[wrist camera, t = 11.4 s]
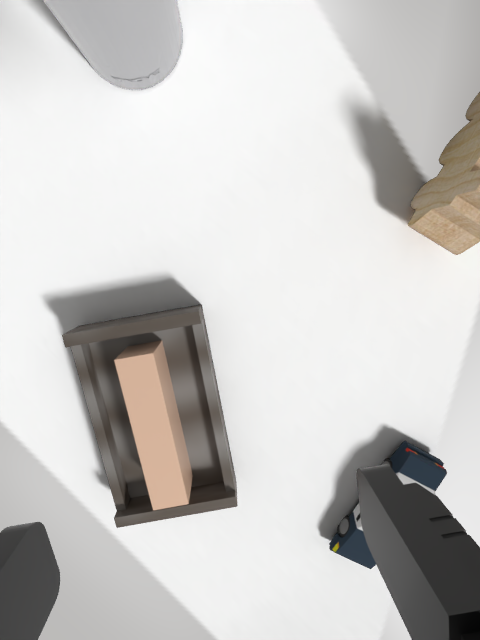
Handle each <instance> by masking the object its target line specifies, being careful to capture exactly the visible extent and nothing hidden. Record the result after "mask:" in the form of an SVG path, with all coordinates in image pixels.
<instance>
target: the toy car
mask: <svg viewBox="0 0 480 640" xmlns="http://www.w3.org/2000/svg"><path fill="white" fill-rule="evenodd" d="M384 464H387V465H389V466H390V467H391V468H392V469H393V471H394V472H395V474H396V475H397V476H398V478H399V479H400V480H401V482H402V483H403V484H410V483H417V484H419V485H420V486H422V487H424V488H425V489H427V490H428V491H430V492H431V493H433V494H434V495H435V491H436V489H437V488H438V486H439V485H440V483H441V482H442V480H443V479H444V477H445V476H446V474H447V472H446V469H444V467H443V462H442V461H441V460H440V459H438V458H436V457H434V456H432V455H431V454H429V453H427V452H425V451H423V450H421V449H419V448H418V447H416V446H414V445H412V444H410V443H408V442H406V441H404V442H403V443H402V444H401V445H400V446H399V448H398V449H397V450H396V451H395V452H394V454H393V455H392V456H391V458H390V460H389V459H385V460H384V462H383V463H382V464H381V465H384ZM338 533H339V534H338ZM338 533H336V535H335V536H334V538H333V539H332V541H331V542H330V544H329V545H330V550H331V551H333V552H335V553H337V554H339V555H341V556H344V557H346V558H348V559H350V560H352V561H354V562H356V563H359V564H361V565H363V566H365V567H367V568H369V569H371V568H372V567H374V566H375V565H376V562H375V560H374V558H373V556H372V554H371V552H370V550H369V547H368V545H367V542H366V539H365V536H364V533H363V529H362V524H361V517H360V506H359V503H358V505H357V506H356V508H355V509H354V510H353V512H352V513H351V515H350V516H349V517H347V516H345V517H344V518H343V520H342V521H341V523H340V524H339V526H338Z"/></svg>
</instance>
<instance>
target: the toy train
mask: <svg viewBox="0 0 480 640" xmlns="http://www.w3.org/2000/svg"><path fill="white" fill-rule="evenodd" d="M466 118H467V120H469V121H470V122H469V123H468V124H467V125H466V126H465V127H463V128H462V129H461V130H460V131H459V132H458V133H457V134H456V135H455V136H454V137H453V138H452V139H451V140H450V142H449V143H448V144H447V146H446V147H445V149H444V150H443V152H442V154H441V156H440V158H439V162H440V164H441V165H443V168H442V169H441V171H440V172H439V174H438V176H437V177H435V178H433V179H431V180H430V181H428V182H427V183H426V184H425V185H423V186H422V187H421V189H420V190H419V191H418V192H417V194H416V195H415V196H414V198H413V200H412V202H411V207H412V208H413V209H415V210H416V211H415V213H414V214H413V216H412V218H411V219H410V221H409V223H408V226H409V227H411V228H413V229H414V230H416V231H417V232H419V233H421V234H422V235H424V236H426V237H427V238H429V239H430V240H432V241H434V242H435V243H437V244H438V245H440V246H442V247H443V248H445V249H447V250H448V251H450V252H451V253H453V254H455V255H458V254H461V253H463V252H464V251H466V250H467V249H469V248H470V247H472V246H474V245H475V244H477V243H478V242H480V92H479V93H478V95H477V96H476V97H475V99H474V100H473V101H472V103H471V105H470V107H469V108H468V110H467V113H466Z"/></svg>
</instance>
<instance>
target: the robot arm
mask: <svg viewBox="0 0 480 640" xmlns="http://www.w3.org/2000/svg"><path fill="white" fill-rule="evenodd" d="M43 1H44V2H45V4H46V5H47V6H48V8H49V9H50V10H51V12H52V13H53V15H54V16H55V17H56V19H57V20H58V21H59V23H60V24H61V25H62V27H63V28H64V29H65V31H66V32H67V33H68V35H69V36H70V37H71V39H72V40H73V42H74V43H75V44H76V46H77V47H78V49H79V50H80V51H81V53H82V54H83V55H84V57H85V58H86V59H87V61H88V62H89V63H90V65H91V66H92V67H93V69H94V70H95V71H96V72H97V73H98V74H99V75H100V76H101V77H102V78H104V79H105V80H106V81H108V82H109V83H111V84H113V85H115V86H118V87H120V88H124V89H129V90H142V89H146V88H149V87H153V86H154V85H156V84H158V83H160V82H161V81H163V80H164V79H165V78H166V77H167V76H168V75H169V74H170V73H171V71H172V70H173V68H174V67H175V65H176V63H177V61H178V58H179V56H180V53H181V48H182V42H183V30H182V25H181V19H180V14H179V9H178V3H177V0H43ZM357 485H358V495H359V506H360V517H361V524H362V529H363V533H364V536H365V539H366V542H367V545H368V547H369V550H370V552H371V554H372V556H373V558H374V560H375V562H376V564H377V567H378V569H379V571H380V573H381V575H382V577H383V579H384V581H385V583H386V586H387V588H388V590H389V592H390V594H391V596H392V598H393V600H394V602H395V605H396V607H397V609H398V611H399V613H400V615H401V617H402V619H403V621H404V624H405V626H406V628H407V630H408V632H409V634H410V636H411V638H412V640H480V547H479V546H478V545H477V544H476V542H475V541H474V540H473V539H472V538H471V536H470V535H467V533H466V531H465V529H464V528H463V527H462V526H461V524H460V523H459V522H458V521H457V520H456V518H453V516H452V514H451V513H450V511H449V510H448V509H447V508H446V507H445V505H444V504H443V503H442V502H441V500H440V499H439V498H438V497H437V496H436V495H434V494H433V493H431V492H430V491H428V490H427V489H425V488H424V487H422V486H420V485H419V484H417V483H410V484H403V483H402V482H401V480H400V479H399V478H398V476H397V475H396V474H395V472H394V471H393V469H392V468H391V467H390V466H389V465H387V464H384V465H378V466H373V467H367V468H361V469H358V470H357ZM59 586H60V572H59V568H58V565H57V562H56V559H55V556H54V553H53V550H52V547H51V544H50V541H49V538H48V535H47V532H46V529H45V527H44V525H43V524H42V523H40V522H35V523H28V524H22V525H16V526H10V527H7V528H5V529H4V530H2V531H1V533H0V640H38V638H39V636H40V634H41V632H42V629H43V627H44V625H45V623H46V621H47V619H48V616H49V614H50V612H51V610H52V608H53V605H54V604H55V601H56V599H57V595H58V592H59Z"/></svg>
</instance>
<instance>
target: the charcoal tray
mask: <svg viewBox="0 0 480 640" xmlns="http://www.w3.org/2000/svg"><path fill="white" fill-rule="evenodd" d="M62 337H63V340H64V344H65V347H70V346H71V350H72V353H73V357H74V360H75V364H76V367H77V371H78V375H79V378H80V382H81V385H82V389H83V392H84V396H85V399H86V403H87V407H88V410H89V414H90V417H91V421H92V424H93V428H94V431H95V435H96V439H97V442H98V446H99V449H100V453H101V456H102V460H103V463H104V467H105V471H106V474H107V478H108V481H109V485H110V488H111V492H112V495H113V499H114V503H115V506H116V510H117V512H116V515H115V517H114V520H115V523H116V527H117V528H118V527H124V526H129V525H135V524H141V523H146V522H152V521H158V520H163V519H169V518H175V517H180V516H186V515H192V514H197V513H203V512H209V511H214V510H220V509H226V508H231V507H237V486H236V478H235V473H234V468H233V462H232V457H231V452H230V447H229V442H228V437H227V432H226V427H225V422H224V416H223V411H222V406H221V401H220V396H219V391H218V386H217V381H216V376H215V370H214V365H213V360H212V355H211V350H210V345H209V340H208V335H207V330H206V325H205V319H204V314H203V309H202V305H196V306H190V307H185V308H179V309H173V310H167V311H162V312H156V313H150V314H145V315H139V316H133V317H127V318H122V319H116V320H110V321H105V322H99V323H93V324H87V325H82V326H78V327H76V328H75V329H73V330H71V331H69V332H67V333H65V334H63V335H62ZM161 340H162V342H163V347H164V351H165V355H166V360H167V364H168V369H169V373H170V377H171V382H172V386H173V391H174V395H175V399H176V404H177V408H178V413H179V417H180V421H181V426H182V430H183V435H184V439H185V443H186V448H187V452H188V457H189V461H190V465H191V470H192V474H193V478H192V485H191V491H190V498H189V504H187V505H181V506H176V507H170V508H164V509H159V510H153V508H152V504H151V500H150V496H149V492H148V489H147V485H146V481H145V477H144V473H143V469H142V465H141V462H140V458H139V454H138V450H137V446H136V442H135V438H134V435H133V431H132V427H131V423H130V419H129V415H128V411H127V408H126V404H125V400H124V396H123V392H122V388H121V384H120V381H119V377H118V373H117V369H116V365H115V361H114V360H115V359H116V358H117V357H118V356H119V355H120V354H121V353H122V352H123V351H124V350H125V349H126V348H127V347H128V346H133V345H138V344H144V343H150V342H155V341H161Z"/></svg>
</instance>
